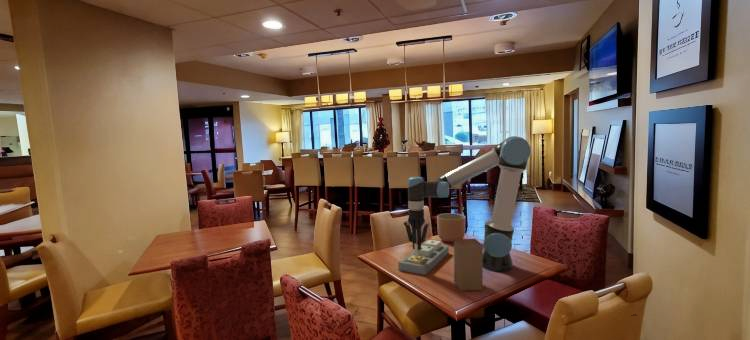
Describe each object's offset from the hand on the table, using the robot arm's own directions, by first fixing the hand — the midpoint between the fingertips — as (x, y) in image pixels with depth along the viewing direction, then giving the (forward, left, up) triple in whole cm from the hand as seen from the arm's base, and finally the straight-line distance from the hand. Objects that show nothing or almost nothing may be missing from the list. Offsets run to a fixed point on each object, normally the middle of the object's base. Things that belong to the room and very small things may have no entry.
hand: (417, 255), depth 178 cm
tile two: (0, -11, -3) cm, 11 cm away
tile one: (0, -22, -3) cm, 22 cm away
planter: (-1, -51, -7) cm, 51 cm away
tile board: (0, -11, -6) cm, 13 cm away
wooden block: (-28, +9, -7) cm, 30 cm away
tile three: (0, 0, -5) cm, 5 cm away
